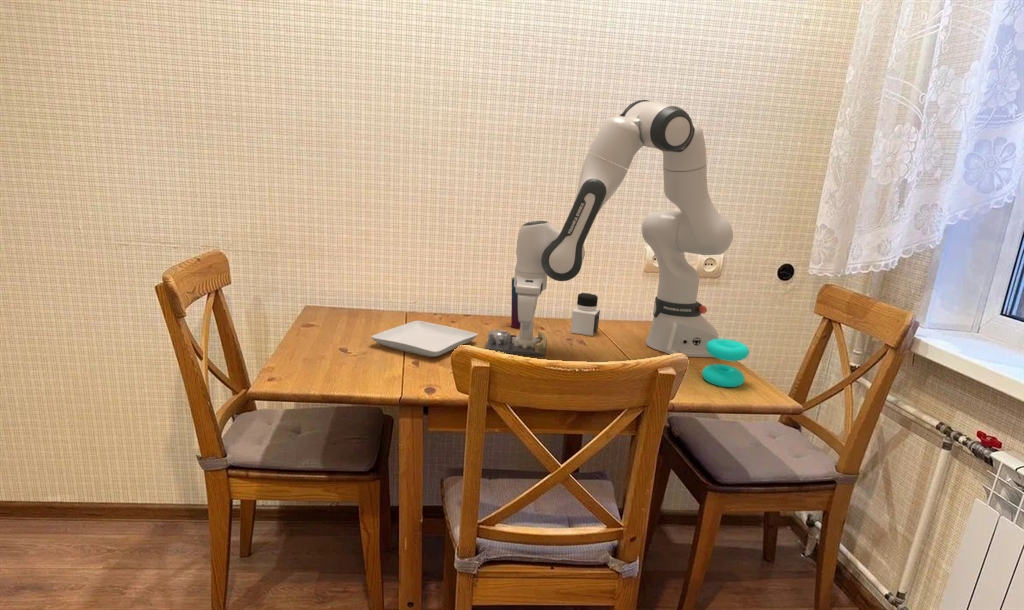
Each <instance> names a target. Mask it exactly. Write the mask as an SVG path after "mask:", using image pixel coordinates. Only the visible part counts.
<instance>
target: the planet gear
mask: <svg viewBox="0 0 1024 610" xmlns="http://www.w3.org/2000/svg"><path fill="white" fill-rule="evenodd" d="M534 326H535V323H534V322H532V323H530V328H529V335H528V336H523V335H522V323H521V326H520V329H519V334H516V337H513V338H512V343H514V345H515V346H521V347H523V348H527V347H532V348H535V345H536V344H538V343H539V342H540V339H537V338H538V336H536V335H535V336H534Z"/></svg>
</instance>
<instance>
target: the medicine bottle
mask: <svg viewBox="0 0 1024 610" xmlns="http://www.w3.org/2000/svg"><path fill="white" fill-rule="evenodd" d="M598 299H599V297H598V295H597V294H595V293H591V292H582V293H581V292H580V293H578V295H577V299H576V300H577V301H576V307H575V308H574V309H572V314H571V315H572V316H571V324H570V333H572V334H577V335H584V336H587V337H588V336H590V337H594V336H595V334H596V333H597V332H598V330H599V322H600V321H599V320H600V315H601V309H600V308H598Z"/></svg>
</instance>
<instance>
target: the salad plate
mask: <svg viewBox="0 0 1024 610" xmlns="http://www.w3.org/2000/svg"><path fill="white" fill-rule="evenodd" d="M478 335H479V334H478V333H476V332H473V331H468V330H464V329H460V328H457V327H451V326H447V325H443V324H438V323H432V322H429V321H423V320H414V321H410V322H408V323H405V324H401V325H399V326H395V327H393V328H389V329H387V330H384V331H381V332H378V333H375V334H373V335H372V336H371V339H372V340H373V341H374V342H376V343H378V344H380V345H382V346H385V347H389V348H391V349H393V350H394V349H395V350H398V351H402V352H405V353H409V354H414V355H419V356H423V357H427V358H429V357H430V358H434V357H439V356H441V355H444V354H446V353H448V352H450V351H452V350H453V351H454V349H456V347H457V346H459V345H461V346H463V344H464V345H465V344H468V343H470V342H472V341H473V340H474V339H476V337H478ZM459 347H460V346H459ZM457 348H458V347H457Z"/></svg>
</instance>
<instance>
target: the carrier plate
mask: <svg viewBox="0 0 1024 610" xmlns="http://www.w3.org/2000/svg"><path fill="white" fill-rule="evenodd" d="M487 334H488V335H487V342H486V344H485V346H484V348H485V349H489V350H495V351H500V352H504V353H503V354H505V353H510V354H509V355H515V354H516V355H517V356H526V357H527V356H529V357H539V358H545V354H546V346H547V336H546V334H545V333H544V332H542V331H538V332H537V339H540V342H539V343H538V344H536V345H535V348H532V347H527V348H523V347H521V346H515V345H514V343H512V338H513V337H516V335H517V334H516V335H515V334H513V335H512V334H511V333H510V332H509V331H508V330H503V329H498V330H495V329H491V331H490V330H488V333H487ZM521 354H522V355H521Z"/></svg>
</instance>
